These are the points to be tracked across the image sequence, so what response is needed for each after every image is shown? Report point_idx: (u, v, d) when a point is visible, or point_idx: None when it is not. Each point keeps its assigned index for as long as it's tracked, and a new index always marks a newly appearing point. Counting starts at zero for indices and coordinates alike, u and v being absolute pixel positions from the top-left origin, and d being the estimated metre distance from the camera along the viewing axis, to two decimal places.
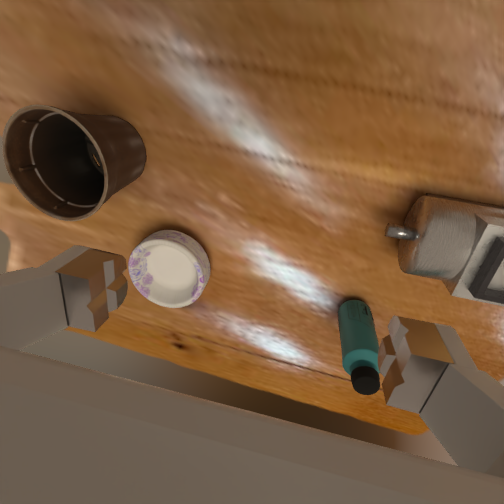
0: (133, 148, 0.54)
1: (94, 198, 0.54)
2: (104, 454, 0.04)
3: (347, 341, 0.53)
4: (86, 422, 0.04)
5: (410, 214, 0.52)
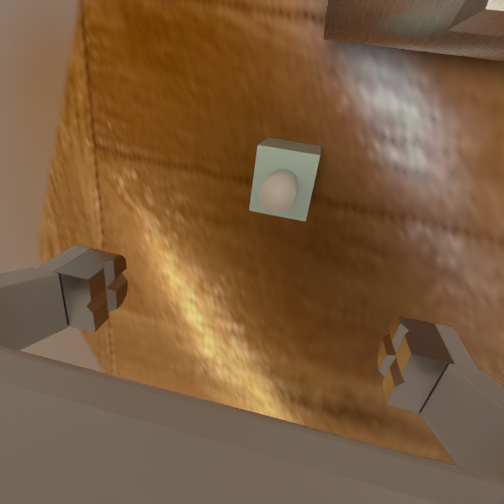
0: None
1: None
2: (104, 454, 0.04)
3: None
4: (86, 422, 0.04)
5: None
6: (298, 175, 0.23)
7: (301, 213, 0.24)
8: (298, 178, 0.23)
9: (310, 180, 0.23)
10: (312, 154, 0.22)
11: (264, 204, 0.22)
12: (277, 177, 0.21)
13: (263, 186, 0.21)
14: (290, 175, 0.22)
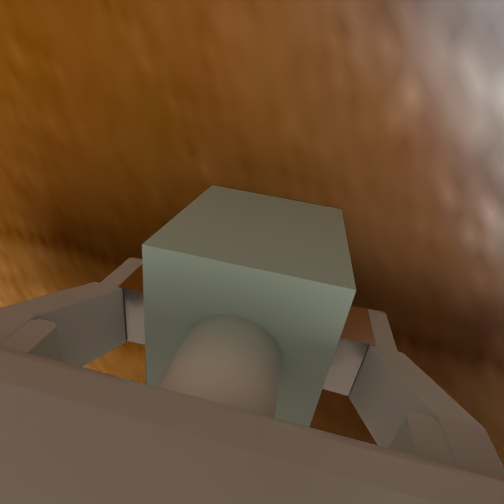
0: None
1: None
2: (104, 454, 0.04)
3: None
4: (86, 422, 0.04)
5: None
6: (280, 338, 0.07)
7: None
8: (280, 346, 0.07)
9: (318, 354, 0.07)
10: (327, 283, 0.06)
11: None
12: None
13: None
14: (248, 372, 0.06)
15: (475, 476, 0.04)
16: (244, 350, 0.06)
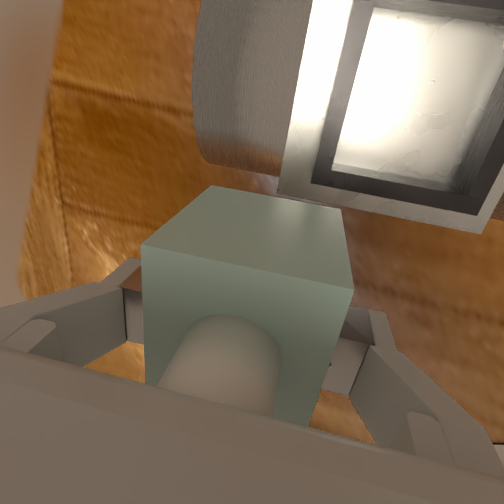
0: None
1: None
2: (104, 454, 0.04)
3: None
4: (86, 422, 0.04)
5: None
6: (279, 338, 0.07)
7: None
8: (279, 346, 0.07)
9: (316, 354, 0.07)
10: (326, 283, 0.06)
11: None
12: None
13: None
14: (246, 372, 0.06)
15: (475, 476, 0.04)
16: (242, 350, 0.06)
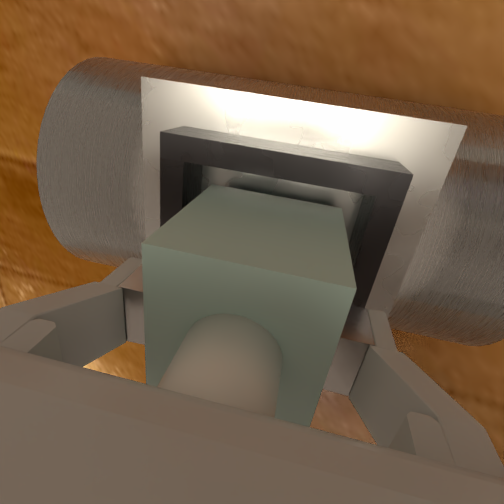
0: None
1: None
2: (104, 454, 0.04)
3: None
4: (86, 422, 0.04)
5: None
6: (280, 337, 0.07)
7: None
8: (281, 345, 0.07)
9: (318, 353, 0.07)
10: (328, 282, 0.06)
11: None
12: None
13: None
14: (248, 371, 0.06)
15: (475, 476, 0.04)
16: (244, 349, 0.06)
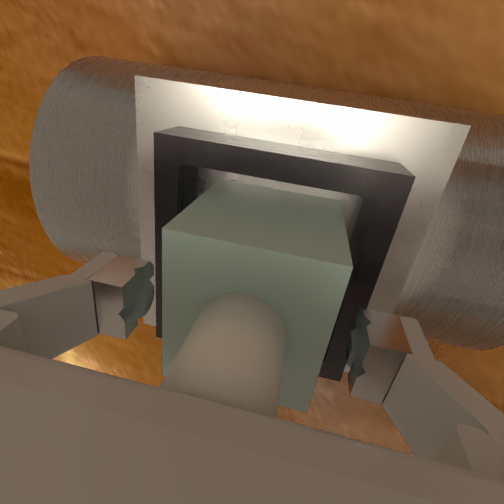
0: None
1: None
2: (104, 454, 0.04)
3: None
4: (86, 422, 0.04)
5: None
6: (285, 313, 0.08)
7: (295, 395, 0.09)
8: (285, 320, 0.08)
9: (319, 327, 0.08)
10: (328, 261, 0.07)
11: None
12: (202, 388, 0.05)
13: None
14: (258, 338, 0.07)
15: (475, 476, 0.04)
16: (254, 321, 0.07)
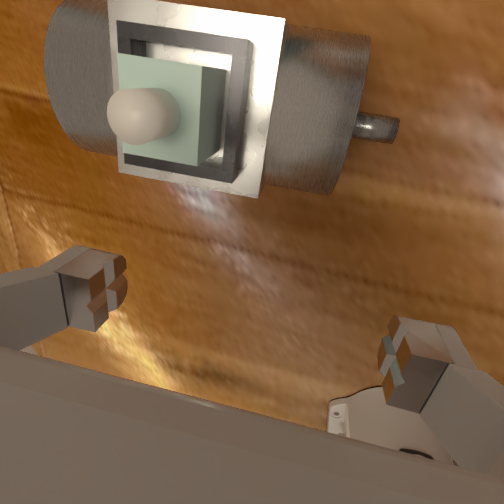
0: None
1: None
2: (104, 454, 0.04)
3: None
4: (86, 422, 0.04)
5: None
6: (177, 98, 0.17)
7: (189, 154, 0.18)
8: (178, 102, 0.17)
9: (194, 105, 0.17)
10: (192, 65, 0.16)
11: (117, 133, 0.15)
12: (127, 89, 0.14)
13: (110, 104, 0.14)
14: (157, 93, 0.16)
15: (475, 476, 0.04)
16: (158, 91, 0.16)
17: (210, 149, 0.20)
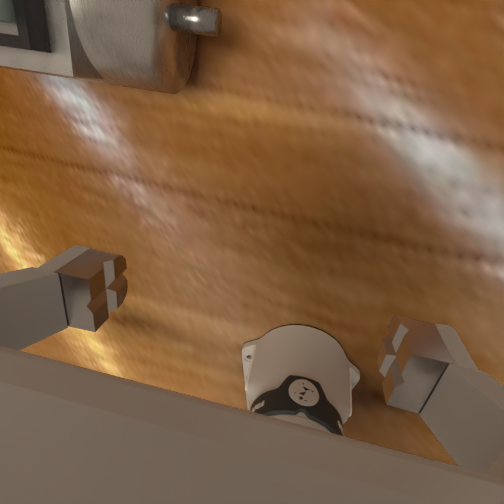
0: None
1: None
2: (104, 454, 0.04)
3: None
4: (86, 422, 0.04)
5: (191, 47, 0.32)
6: None
7: None
8: None
9: None
10: None
11: None
12: None
13: None
14: None
15: (475, 476, 0.04)
16: None
17: None
